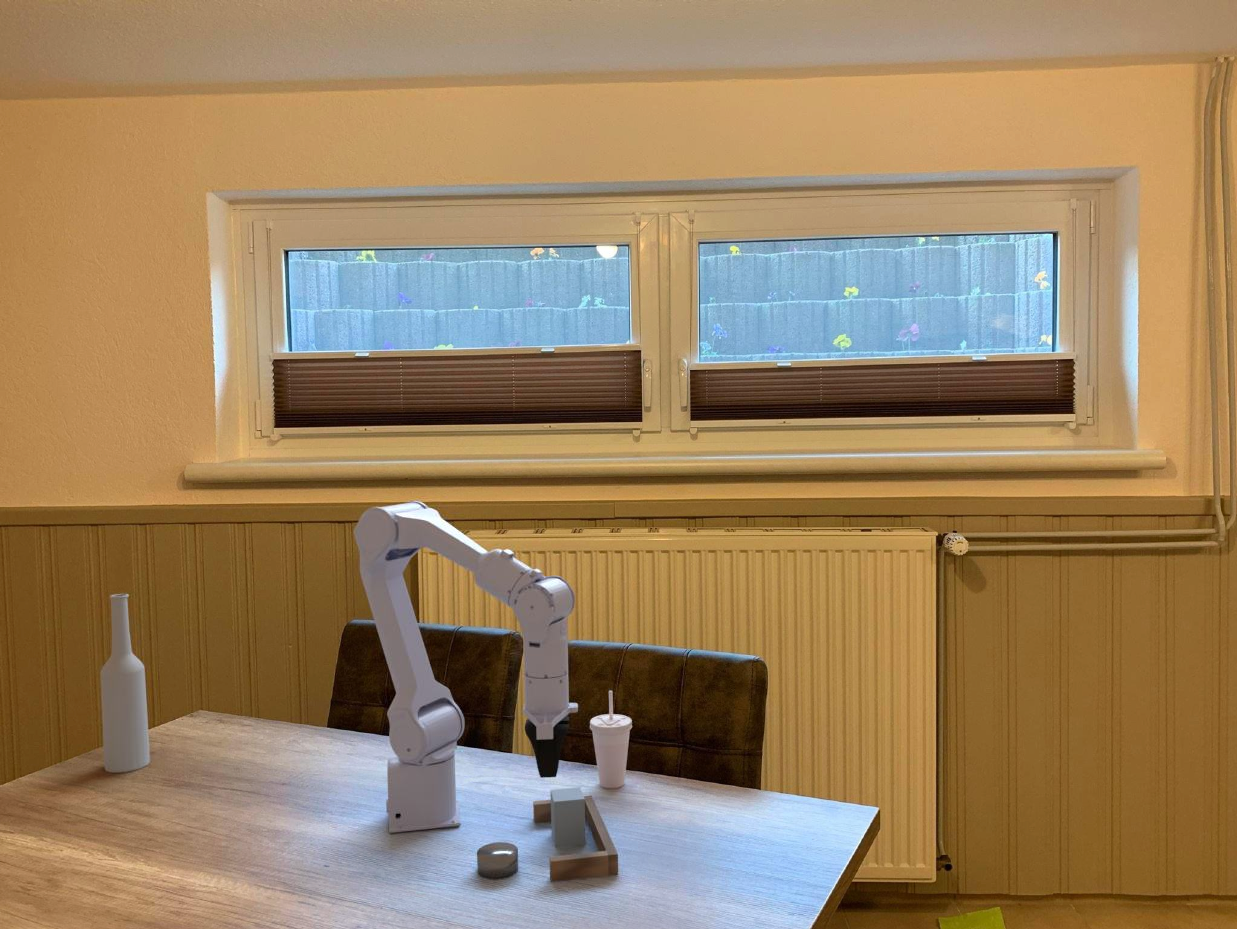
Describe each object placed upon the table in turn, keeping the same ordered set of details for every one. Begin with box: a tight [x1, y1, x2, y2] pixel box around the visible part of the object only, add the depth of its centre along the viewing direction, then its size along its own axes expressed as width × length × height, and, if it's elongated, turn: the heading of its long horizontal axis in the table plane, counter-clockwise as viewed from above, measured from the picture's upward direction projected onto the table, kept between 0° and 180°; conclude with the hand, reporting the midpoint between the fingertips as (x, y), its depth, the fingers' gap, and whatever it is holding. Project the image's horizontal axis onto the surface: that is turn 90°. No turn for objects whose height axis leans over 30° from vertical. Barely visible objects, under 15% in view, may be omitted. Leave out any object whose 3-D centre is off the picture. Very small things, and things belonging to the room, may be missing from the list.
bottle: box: [99, 593, 151, 774], centre depth 158 cm, size 7×7×28 cm
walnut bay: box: [532, 795, 619, 883], centre depth 127 cm, size 8×18×2 cm, turn 12°
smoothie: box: [589, 690, 633, 789], centre depth 147 cm, size 6×6×14 cm
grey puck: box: [476, 841, 519, 881], centre depth 120 cm, size 5×5×2 cm
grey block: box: [550, 787, 587, 848], centre depth 129 cm, size 4×4×6 cm
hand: (548, 775), depth 127 cm, fingers closed
